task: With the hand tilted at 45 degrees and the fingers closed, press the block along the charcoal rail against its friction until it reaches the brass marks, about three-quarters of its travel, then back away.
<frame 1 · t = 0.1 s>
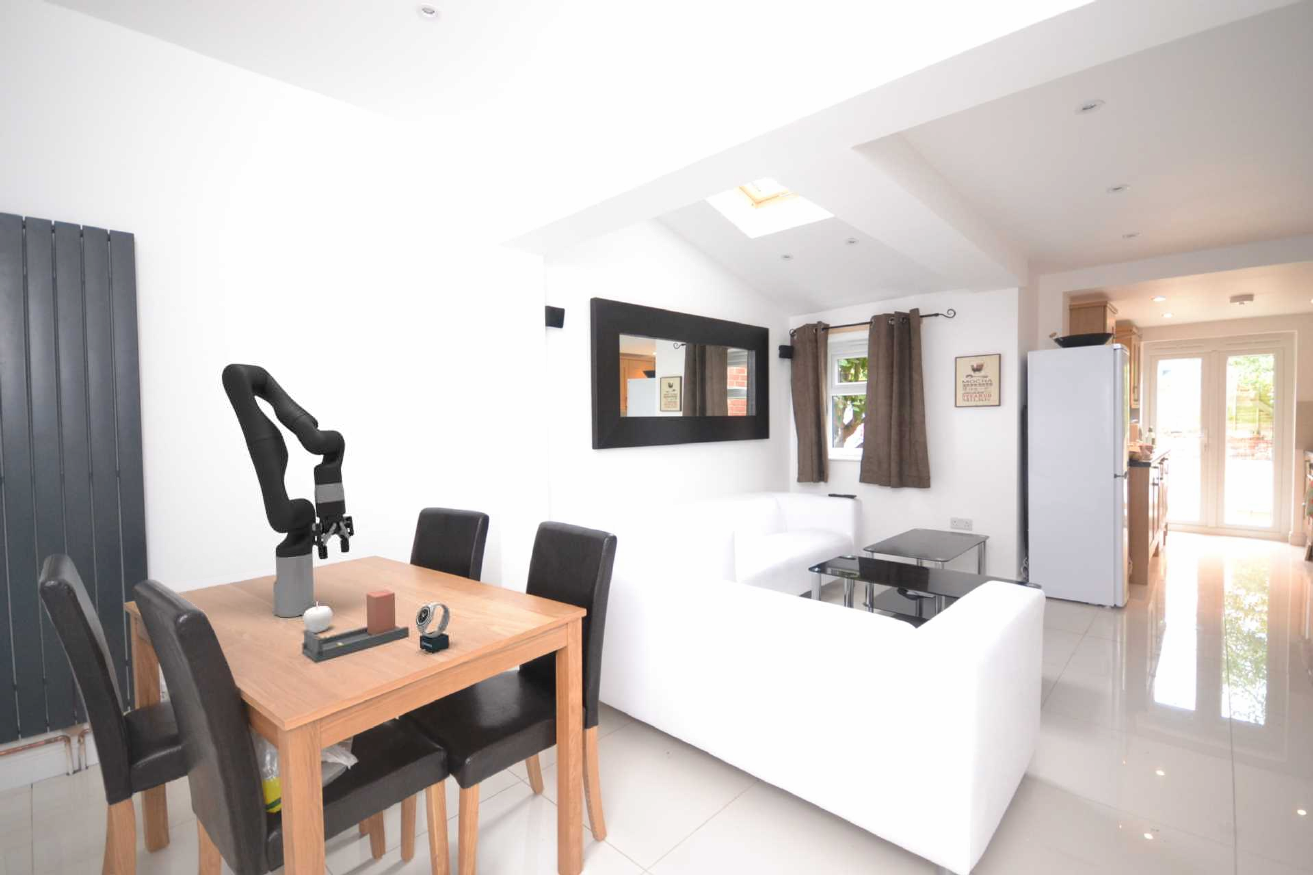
hand: (334, 555, 172), 17 cm above the table, tool pointing down, fingers open, 8 cm apart
rail: (353, 645, 148), on the table
block: (381, 612, 153), point 6 cm above the table, slide at 0.0 cm
plain white apple: (318, 631, 160), on the table
watch: (434, 649, 146), on the table
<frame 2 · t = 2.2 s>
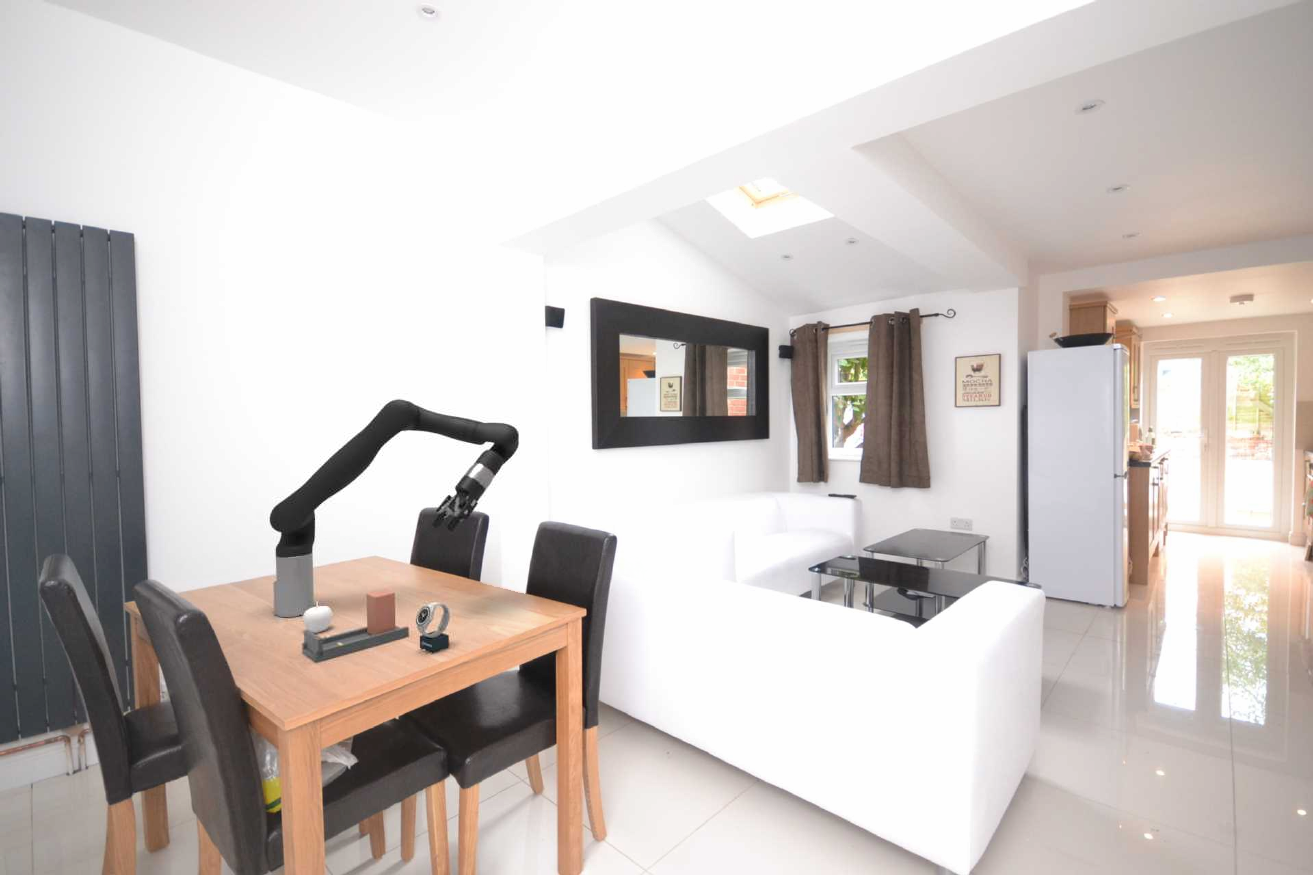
hand: (440, 528, 166), 26 cm above the table, tool tilted 45°, fingers open, 8 cm apart
nothing on the table moved.
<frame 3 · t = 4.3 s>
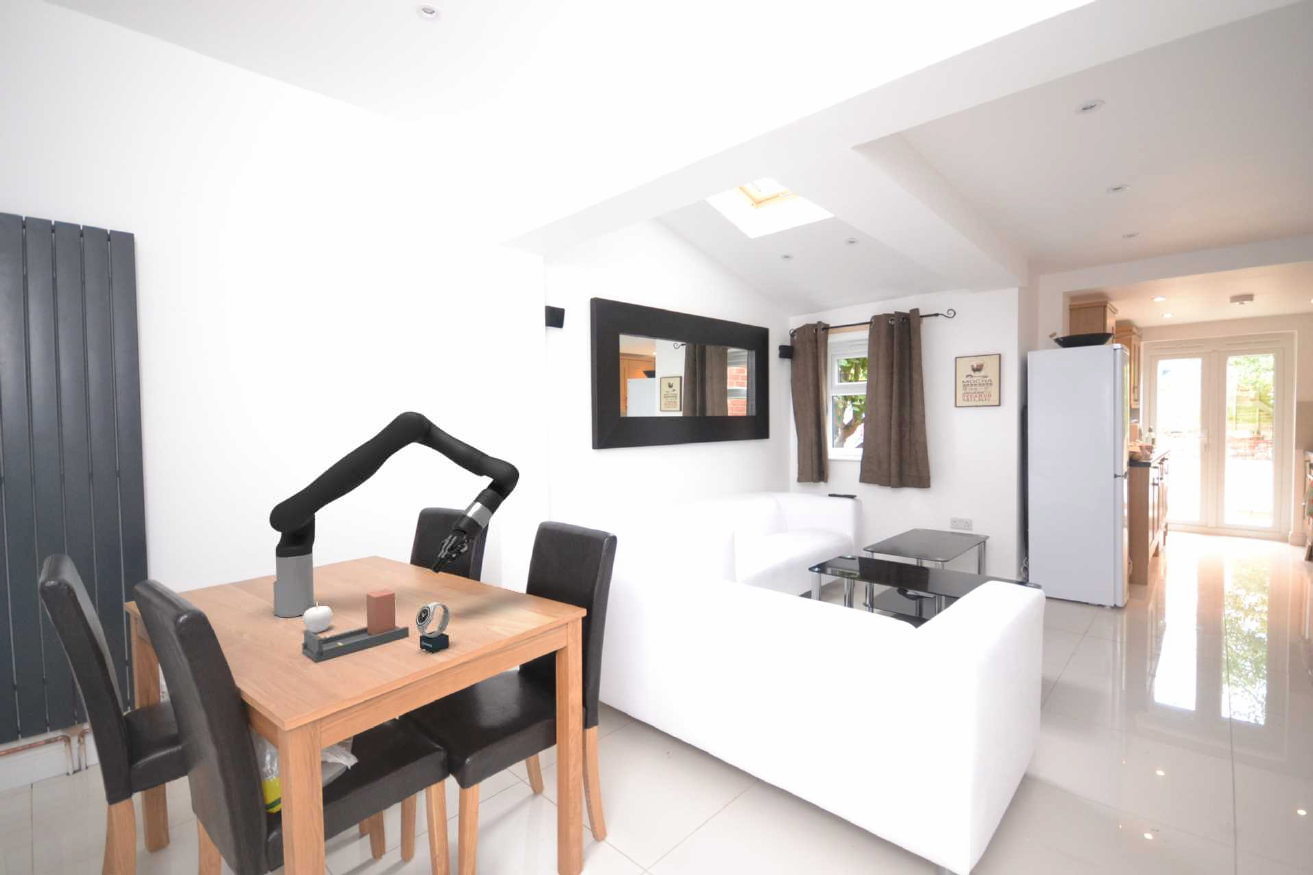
hand: (433, 571, 164), 14 cm above the table, tool tilted 45°, fingers closed
nothing on the table moved.
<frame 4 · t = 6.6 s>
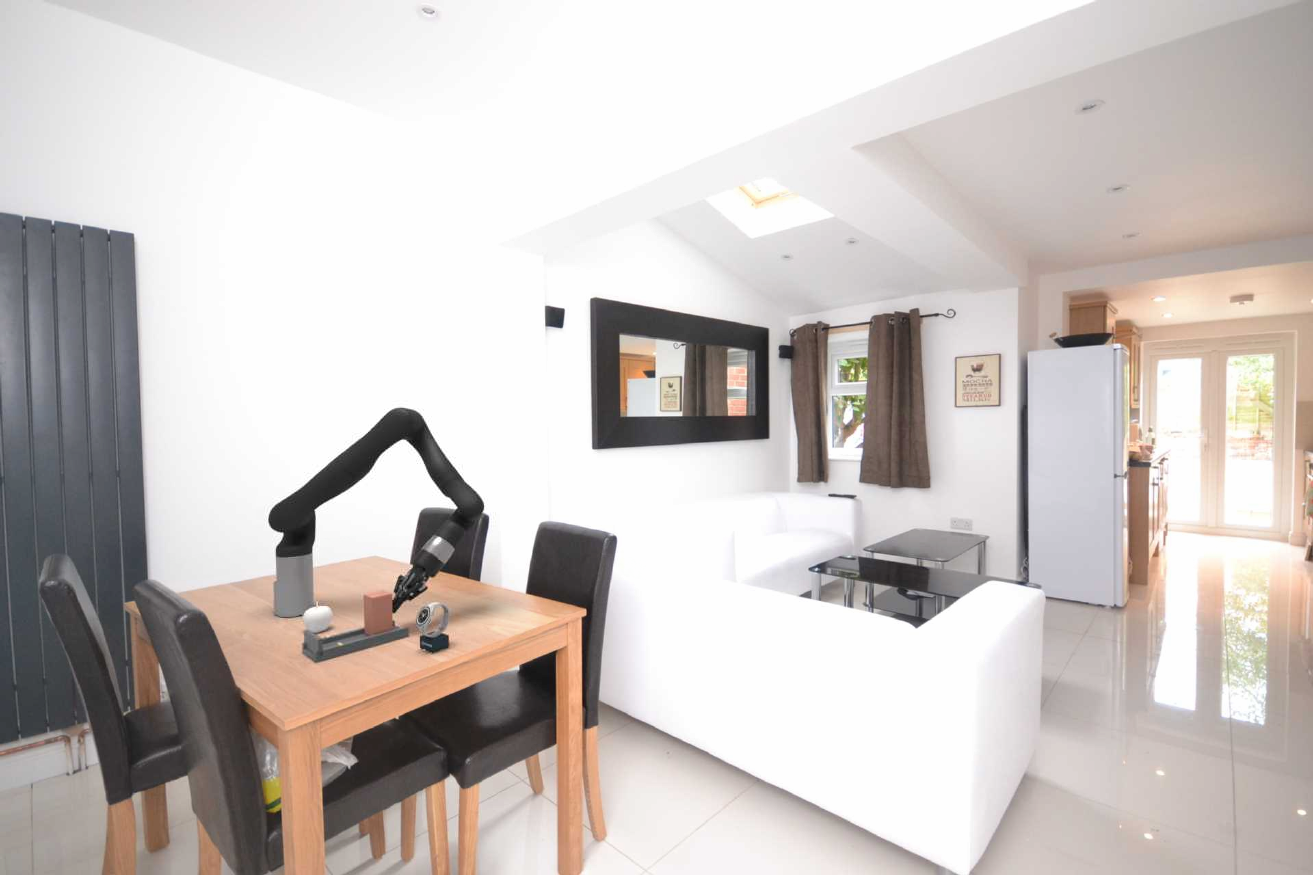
hand: (390, 611, 155), 6 cm above the table, tool tilted 45°, fingers closed
block: (378, 613, 153), point 6 cm above the table, slide at 0.7 cm, touching gripper
everything else where it was.
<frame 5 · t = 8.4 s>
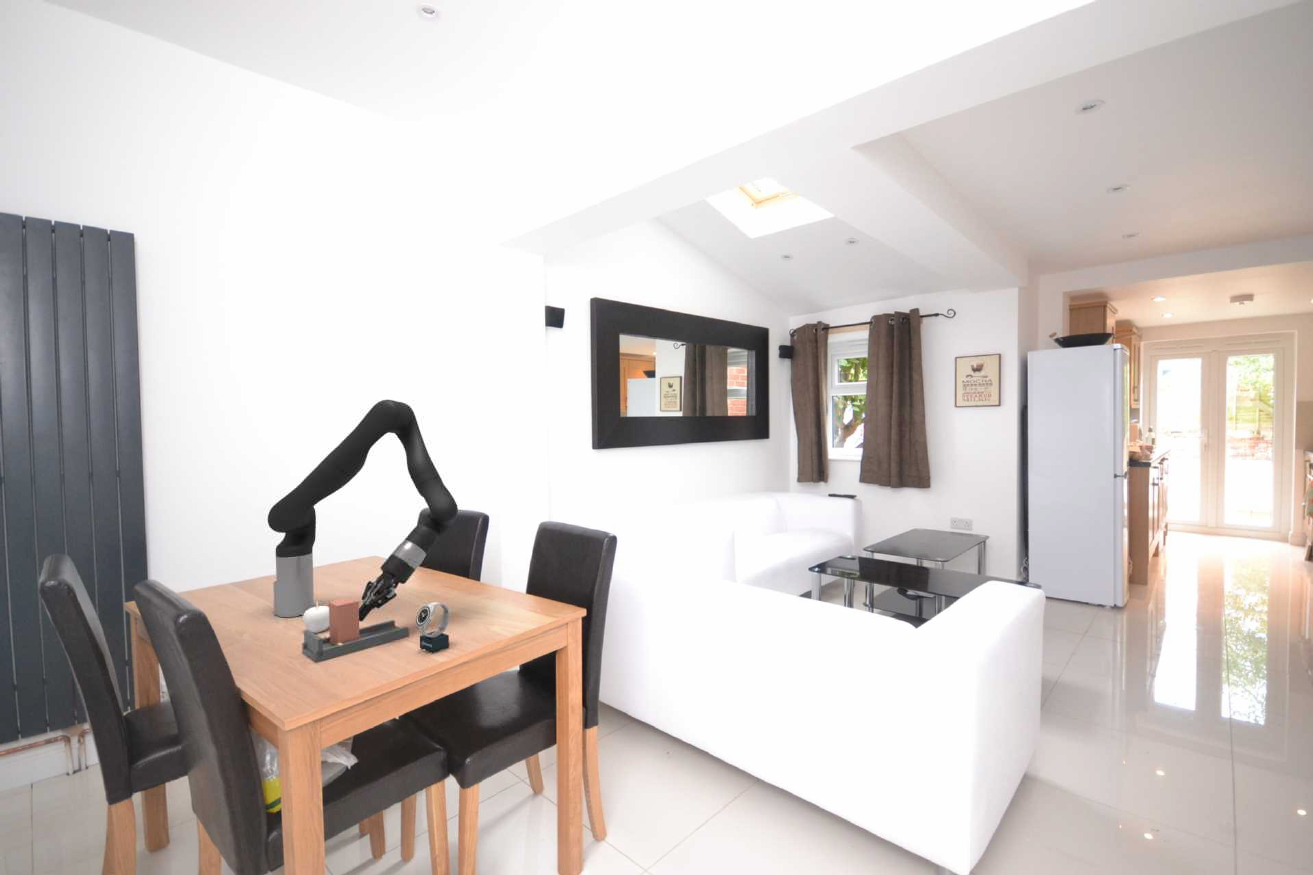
hand: (357, 619, 149), 6 cm above the table, tool tilted 45°, fingers closed
block: (344, 621, 147), point 6 cm above the table, slide at 9.0 cm, touching gripper
everything else where it was.
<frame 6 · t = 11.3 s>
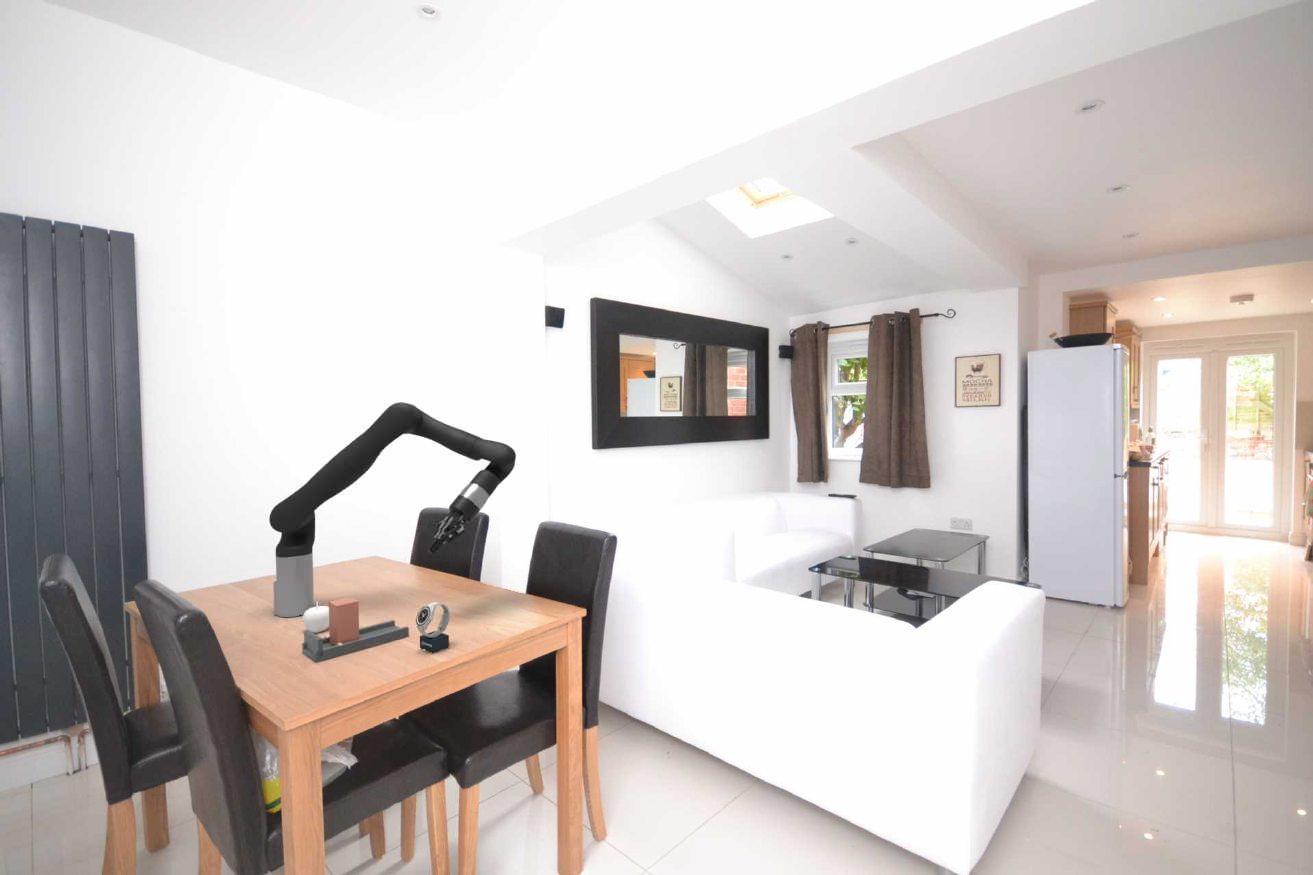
hand: (430, 551, 163), 20 cm above the table, tool tilted 45°, fingers closed
block: (344, 621, 147), point 6 cm above the table, slide at 9.0 cm
everything else where it was.
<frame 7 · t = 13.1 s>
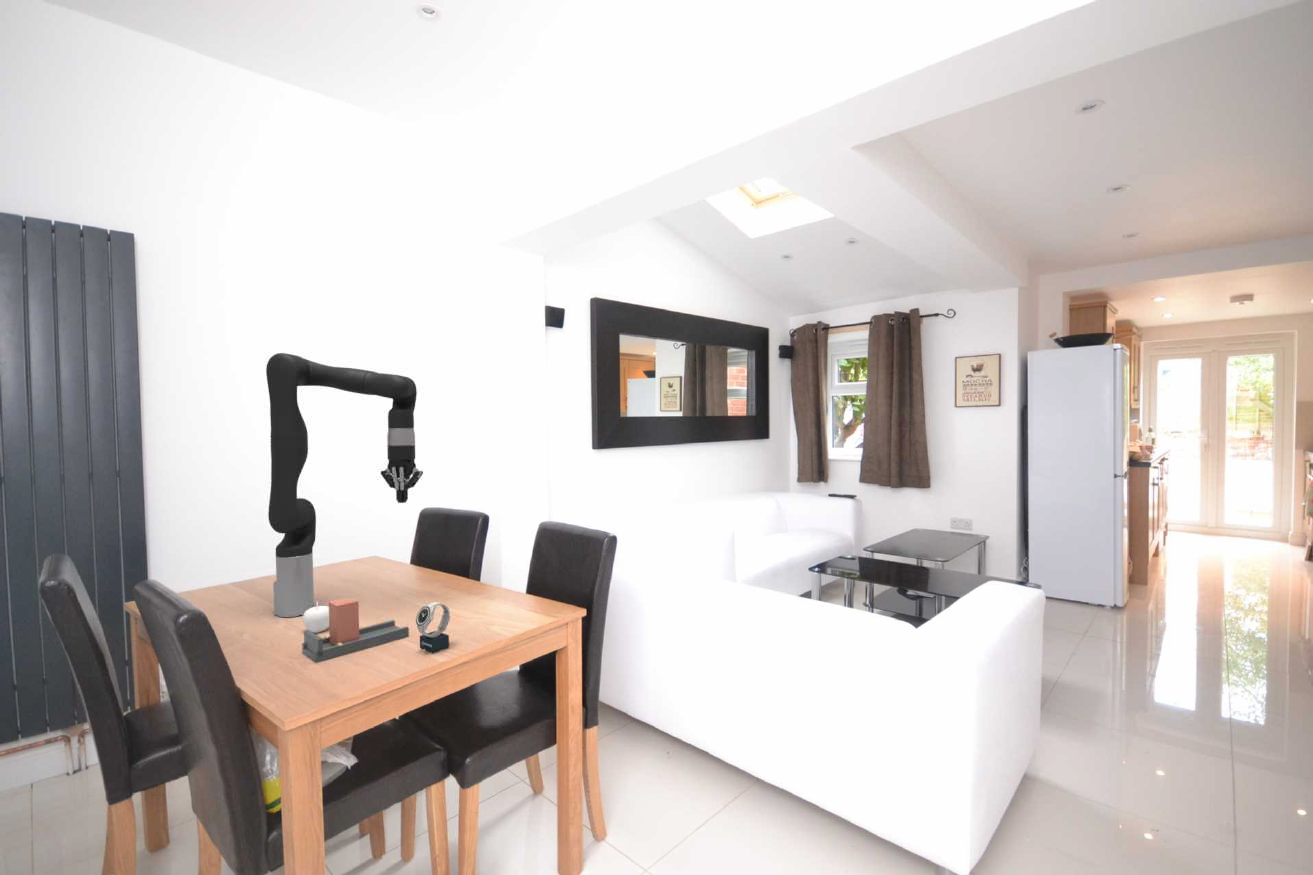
hand: (402, 502, 176), 32 cm above the table, tool pointing down, fingers closed
nothing on the table moved.
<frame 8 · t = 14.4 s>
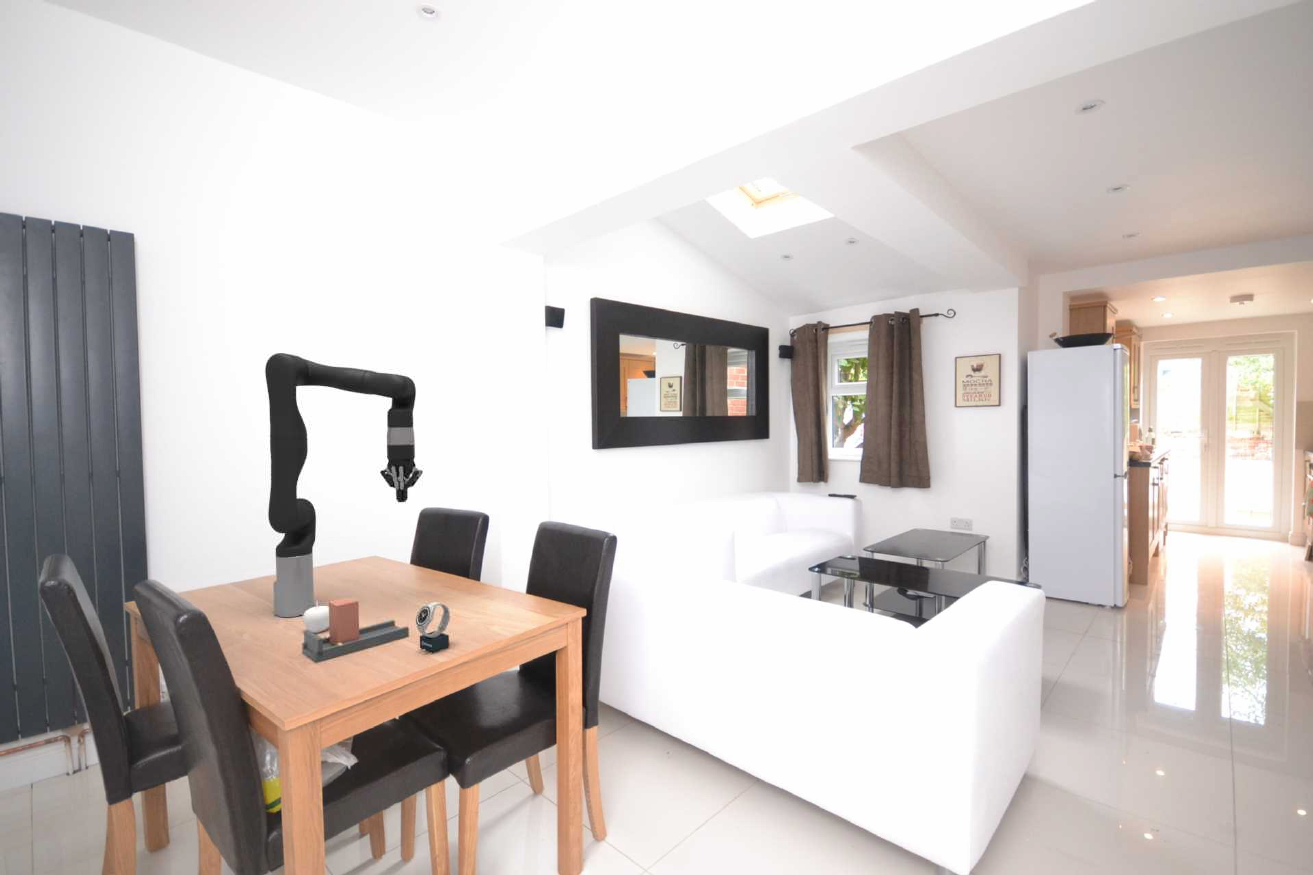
hand: (402, 501, 176), 32 cm above the table, tool pointing down, fingers closed
nothing on the table moved.
at the end: block slide at 9.0 cm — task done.
